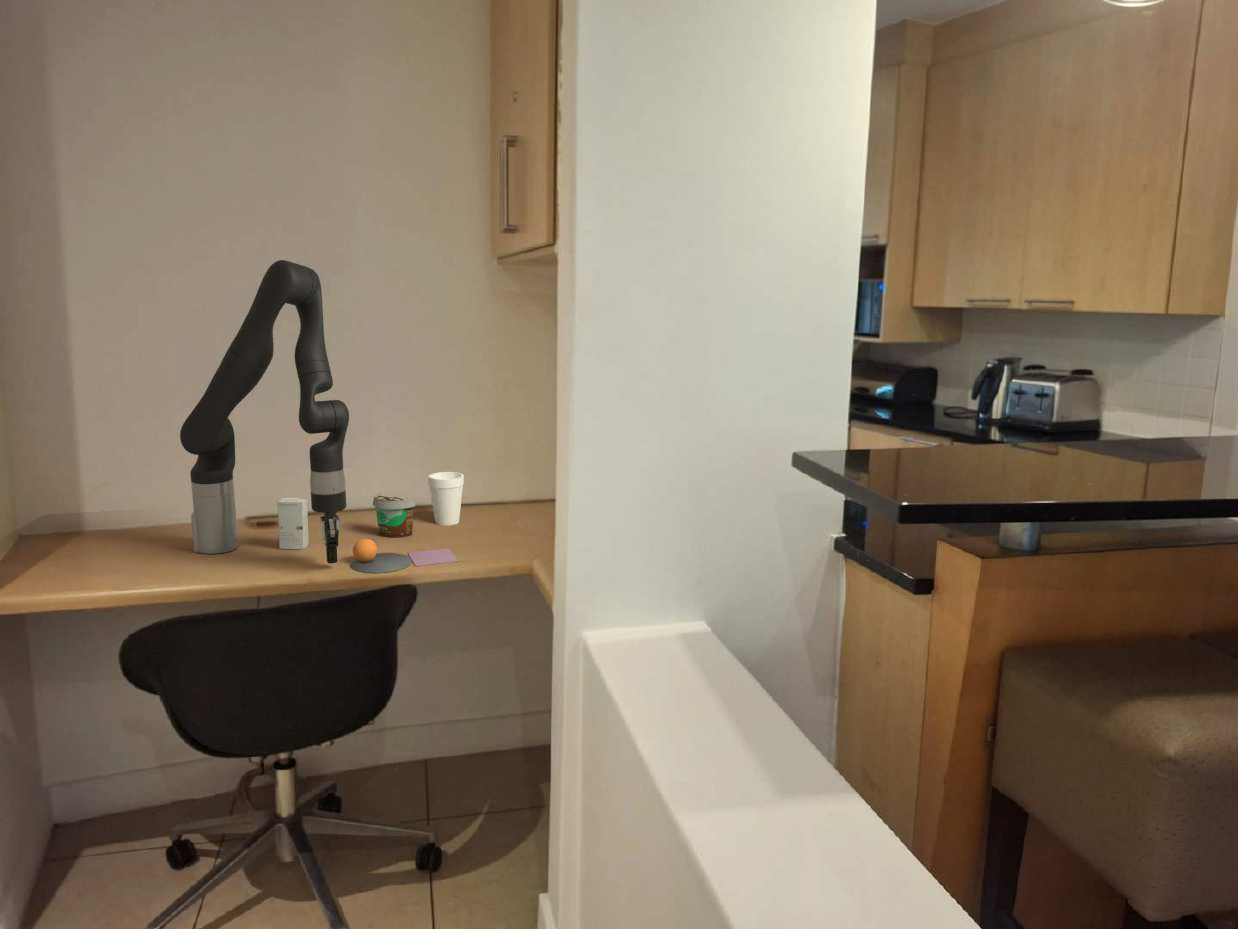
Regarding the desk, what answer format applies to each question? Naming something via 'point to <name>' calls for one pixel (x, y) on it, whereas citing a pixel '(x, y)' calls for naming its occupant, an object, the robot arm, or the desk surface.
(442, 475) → the foam cup
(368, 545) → the ball
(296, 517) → the white box
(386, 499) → the food container
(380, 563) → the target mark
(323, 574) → the desk surface
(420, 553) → the far mark
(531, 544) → the desk surface
